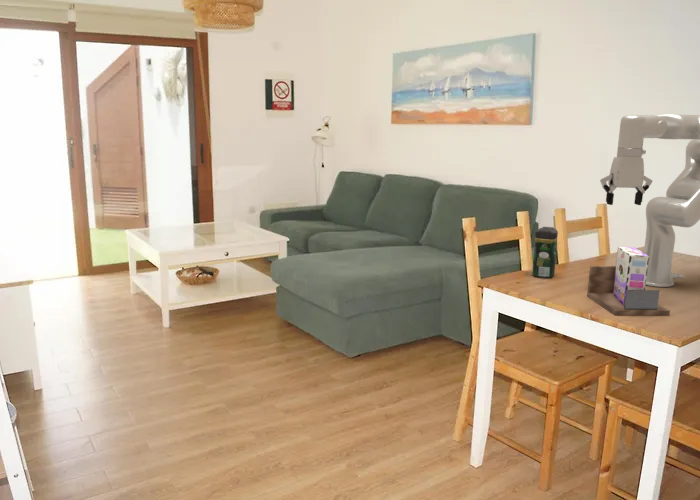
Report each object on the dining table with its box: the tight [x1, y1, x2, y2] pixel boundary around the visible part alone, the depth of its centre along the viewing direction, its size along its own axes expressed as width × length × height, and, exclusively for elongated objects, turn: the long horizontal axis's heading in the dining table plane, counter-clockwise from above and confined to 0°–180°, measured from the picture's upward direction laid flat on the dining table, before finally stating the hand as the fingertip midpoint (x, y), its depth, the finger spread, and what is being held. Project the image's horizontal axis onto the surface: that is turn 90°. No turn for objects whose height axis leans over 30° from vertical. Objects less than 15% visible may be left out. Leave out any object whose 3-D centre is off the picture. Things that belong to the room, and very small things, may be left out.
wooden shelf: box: [586, 265, 671, 316], centre depth 189 cm, size 17×20×10 cm
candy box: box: [613, 246, 649, 305], centre depth 189 cm, size 14×6×16 cm, turn 170°
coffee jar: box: [532, 226, 559, 279], centre depth 224 cm, size 10×8×19 cm
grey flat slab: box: [624, 289, 660, 310], centre depth 181 cm, size 10×1×6 cm, turn 92°
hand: (623, 204), depth 201 cm, fingers open, 9 cm apart
